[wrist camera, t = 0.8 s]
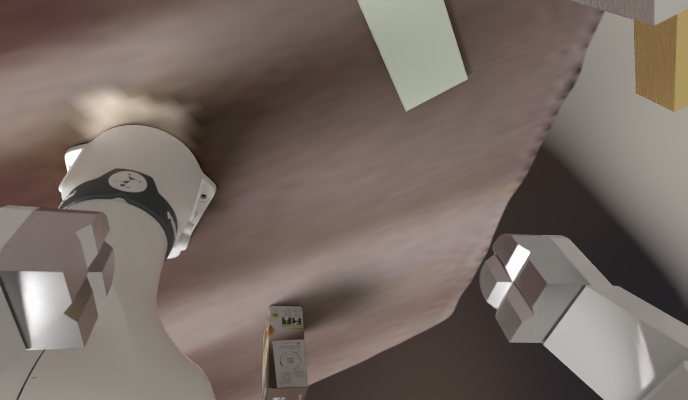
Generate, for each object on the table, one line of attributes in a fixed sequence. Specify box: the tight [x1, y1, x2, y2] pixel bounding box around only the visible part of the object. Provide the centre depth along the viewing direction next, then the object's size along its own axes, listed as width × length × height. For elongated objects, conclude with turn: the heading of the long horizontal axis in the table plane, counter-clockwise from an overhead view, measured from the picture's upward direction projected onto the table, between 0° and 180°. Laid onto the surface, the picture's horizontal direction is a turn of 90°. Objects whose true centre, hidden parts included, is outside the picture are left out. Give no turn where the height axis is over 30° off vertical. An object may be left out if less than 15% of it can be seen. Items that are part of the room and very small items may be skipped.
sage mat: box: [357, 0, 468, 111], centre depth 48 cm, size 22×9×1 cm, turn 27°
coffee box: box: [262, 306, 308, 400], centre depth 71 cm, size 9×6×16 cm
